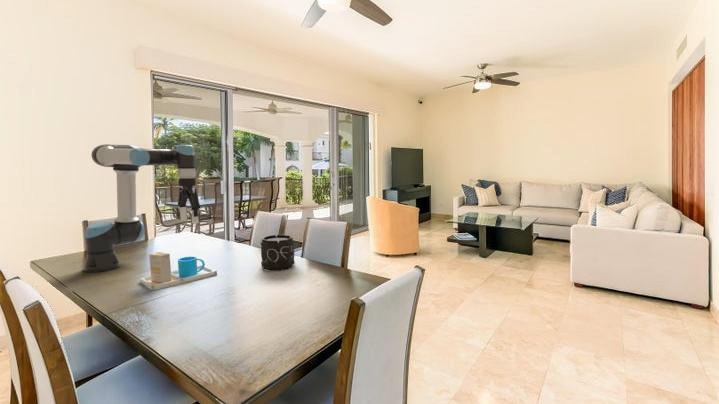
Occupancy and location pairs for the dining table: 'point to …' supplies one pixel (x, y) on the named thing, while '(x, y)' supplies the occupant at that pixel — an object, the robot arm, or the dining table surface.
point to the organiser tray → (178, 278)
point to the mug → (188, 266)
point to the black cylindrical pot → (277, 252)
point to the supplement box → (160, 267)
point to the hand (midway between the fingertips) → (189, 221)
